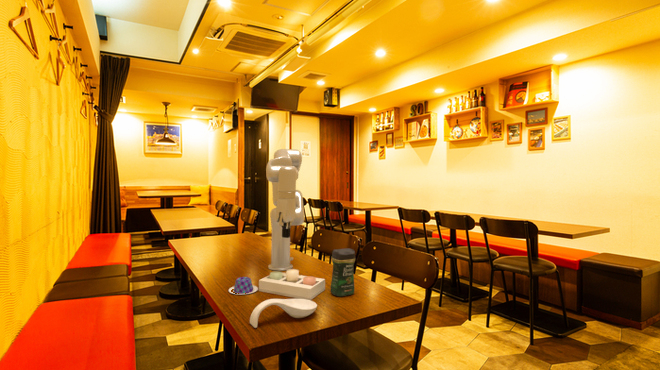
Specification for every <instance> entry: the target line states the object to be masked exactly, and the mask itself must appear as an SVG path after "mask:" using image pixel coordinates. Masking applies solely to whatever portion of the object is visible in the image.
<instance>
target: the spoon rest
mask: <svg viewBox="0 0 660 370" xmlns="http://www.w3.org/2000/svg"><path fill="white" fill-rule="evenodd" d="M270 306H278V307H279V308H281V309H282V310H283V311H285V313H287V314H288V315H289V316H290V317H292V318H295V319H302V318H306V317H308V316H310V315H312V314H313V313H314V312H315V311H316V309H317V308H318V304H317V303H316V302H315V301H313V300H306V299H299V298H286V299H285V298H270V299H269V298H268V299H266V300H264V301H262V302H260V303H259V304H258V305H256V306H255V308H254V309H253V311H252V313H251V315H250V317H249V324H250V325H251V326H252V327H253V328H255V329H256V328H258V322H259V318H260V314H261V313H262V311H264V310H265V309H266V308H268V307H270Z"/></svg>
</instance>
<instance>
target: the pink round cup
mask: <svg viewBox="0 0 660 370" xmlns="http://www.w3.org/2000/svg"><path fill="white" fill-rule="evenodd" d="M306 276H307V275H306ZM316 278H317V277H315V276H313V275H312V276H307V277H304V278H303V284H304V285H311V286H313V285H315V284H316Z"/></svg>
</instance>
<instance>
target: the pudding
mask: <svg viewBox="0 0 660 370" xmlns="http://www.w3.org/2000/svg"><path fill="white" fill-rule="evenodd" d="M232 289H234V290H233V292H235V293H237V294H238V293H239V294H238V295H244V294H245V293H246V295H249V294H253V293H255V292H257V291H259V286H256V285H254V284H253V283H252V278H251V277H249V276H242V277H241V276H240V277H237V278H236V280H235V284H234V285H233V286H232V287H229V289H228V292H229V293H230V294H232V295H236V294H235V293H233V292H231V290H232Z"/></svg>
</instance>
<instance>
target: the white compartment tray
mask: <svg viewBox="0 0 660 370" xmlns="http://www.w3.org/2000/svg"><path fill="white" fill-rule="evenodd" d="M304 277H307V275H302V274H299V281H298V282H296V283H292V282H286V272H282V279H280V280H274V279H270V274H269V275H267V276H265V277H263V278H261V279H259V280H258V292H262V293H268V294H274V295H277V296H285V297H290V298H293V299H306V300H310V301H313V299H314V298H315V297H317V296H318V295H319V294H321V293H322V292H324V291H325V290H326V279H325V278H320V277H315V278H316V284H315V285H313V286H311V285H304V284H303V278H304Z"/></svg>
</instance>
